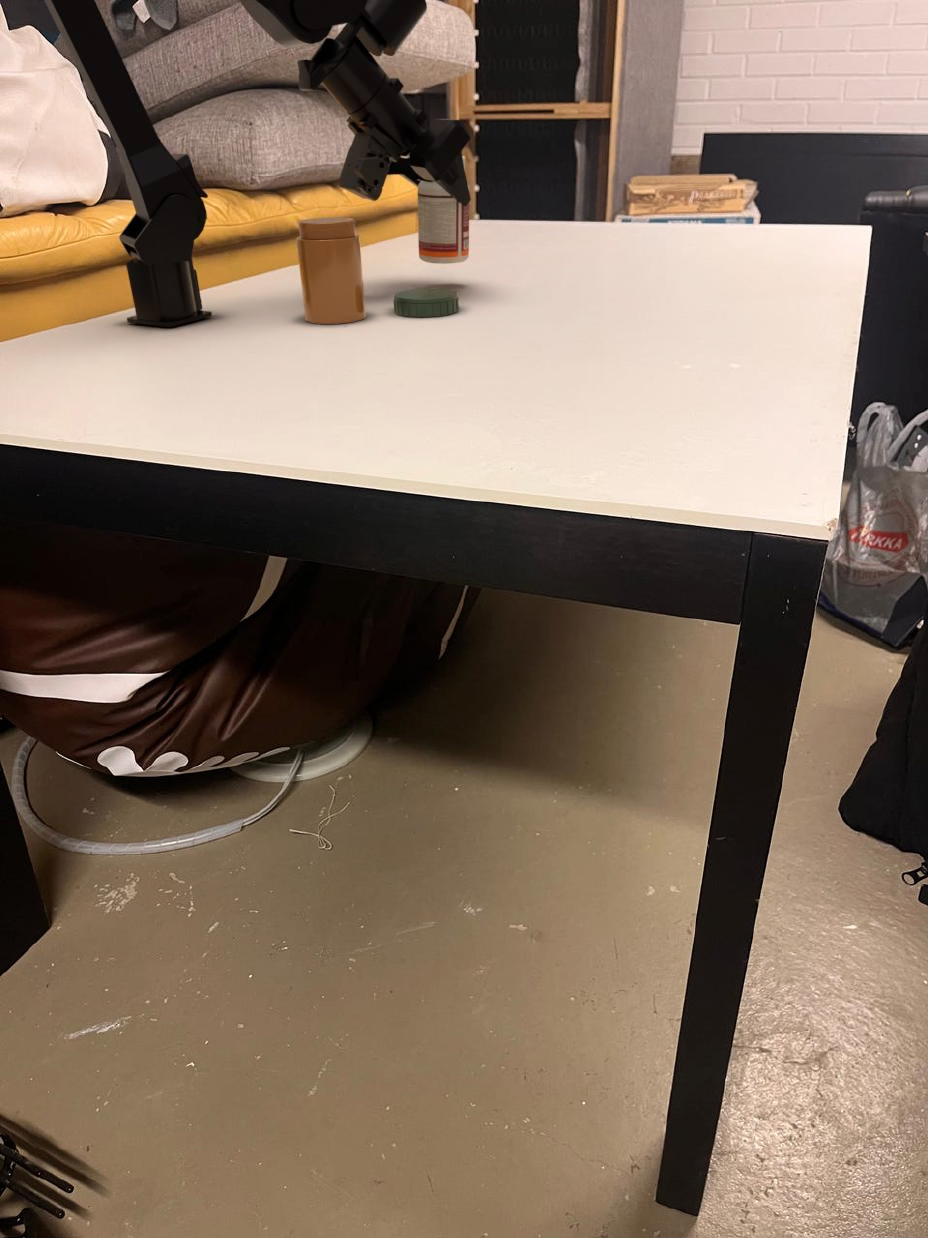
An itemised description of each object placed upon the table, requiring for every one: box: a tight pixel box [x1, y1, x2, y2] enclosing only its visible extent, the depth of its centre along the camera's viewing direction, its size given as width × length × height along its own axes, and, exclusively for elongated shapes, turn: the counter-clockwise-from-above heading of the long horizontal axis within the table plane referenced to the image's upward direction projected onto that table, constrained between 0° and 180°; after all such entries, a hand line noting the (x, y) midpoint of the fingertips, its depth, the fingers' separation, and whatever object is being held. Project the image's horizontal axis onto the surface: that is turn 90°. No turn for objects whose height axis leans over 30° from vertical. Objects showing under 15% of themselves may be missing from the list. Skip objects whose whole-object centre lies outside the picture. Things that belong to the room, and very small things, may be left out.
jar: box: [295, 217, 367, 325], centre depth 90 cm, size 6×6×10 cm
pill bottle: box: [417, 155, 470, 265], centre depth 104 cm, size 6×6×11 cm
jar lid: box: [393, 287, 460, 318], centre depth 95 cm, size 7×7×2 cm
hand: (453, 200), depth 104 cm, fingers closed on pill bottle, 6 cm apart
